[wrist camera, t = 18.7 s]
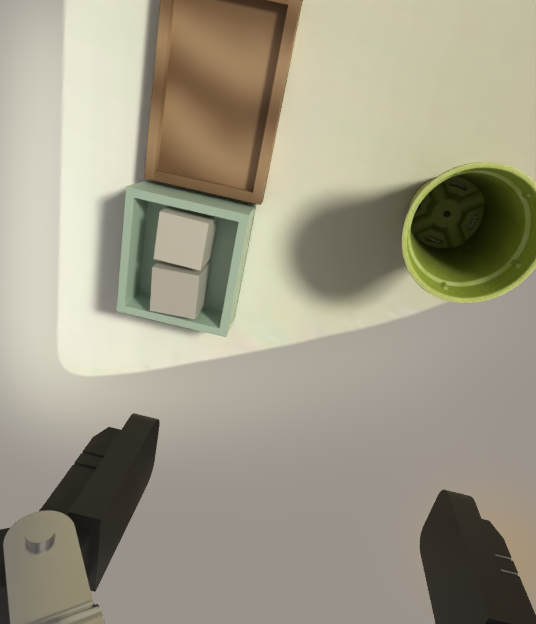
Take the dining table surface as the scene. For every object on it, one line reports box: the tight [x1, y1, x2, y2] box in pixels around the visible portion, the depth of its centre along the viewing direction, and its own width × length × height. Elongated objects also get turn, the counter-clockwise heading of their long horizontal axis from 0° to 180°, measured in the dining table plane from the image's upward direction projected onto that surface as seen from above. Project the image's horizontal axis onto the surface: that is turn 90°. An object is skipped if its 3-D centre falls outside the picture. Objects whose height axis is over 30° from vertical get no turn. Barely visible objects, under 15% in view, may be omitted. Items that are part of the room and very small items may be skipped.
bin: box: [117, 181, 256, 337], centre depth 41 cm, size 11×10×4 cm
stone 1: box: [154, 206, 219, 271], centre depth 39 cm, size 4×4×4 cm
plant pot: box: [401, 162, 536, 303], centre depth 35 cm, size 9×9×9 cm
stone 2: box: [150, 260, 210, 319], centre depth 41 cm, size 4×4×4 cm
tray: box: [144, 0, 303, 205], centre depth 37 cm, size 15×10×2 cm, turn 168°
